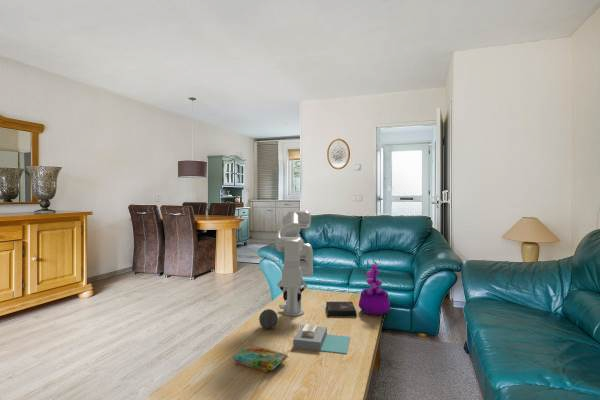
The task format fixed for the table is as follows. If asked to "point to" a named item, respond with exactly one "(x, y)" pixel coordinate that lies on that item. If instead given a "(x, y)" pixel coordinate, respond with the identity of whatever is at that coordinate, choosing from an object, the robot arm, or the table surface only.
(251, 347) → the puzzle game
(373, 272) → the decorative plant
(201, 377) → the table surface
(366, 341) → the table surface
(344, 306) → the portable cd player
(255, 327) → the table surface
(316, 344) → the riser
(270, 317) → the decorative ball
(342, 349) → the mat
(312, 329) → the tile
